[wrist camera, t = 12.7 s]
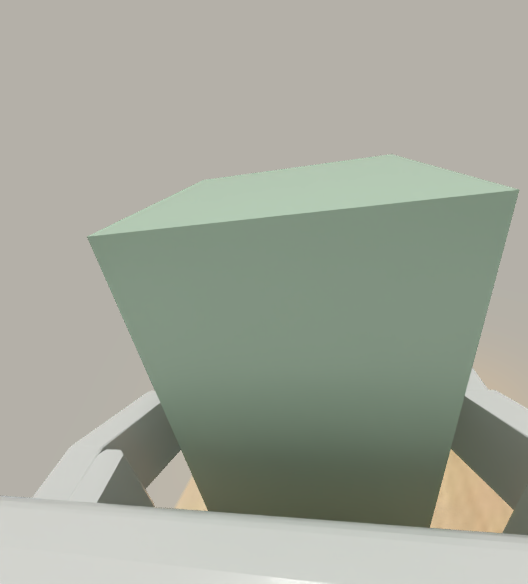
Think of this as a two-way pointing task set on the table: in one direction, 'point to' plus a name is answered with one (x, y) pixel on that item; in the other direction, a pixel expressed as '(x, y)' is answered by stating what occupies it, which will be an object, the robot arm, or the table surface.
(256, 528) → the robot arm
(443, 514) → the table surface
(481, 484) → the table surface
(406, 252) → the tall sage green pillar
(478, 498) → the table surface
